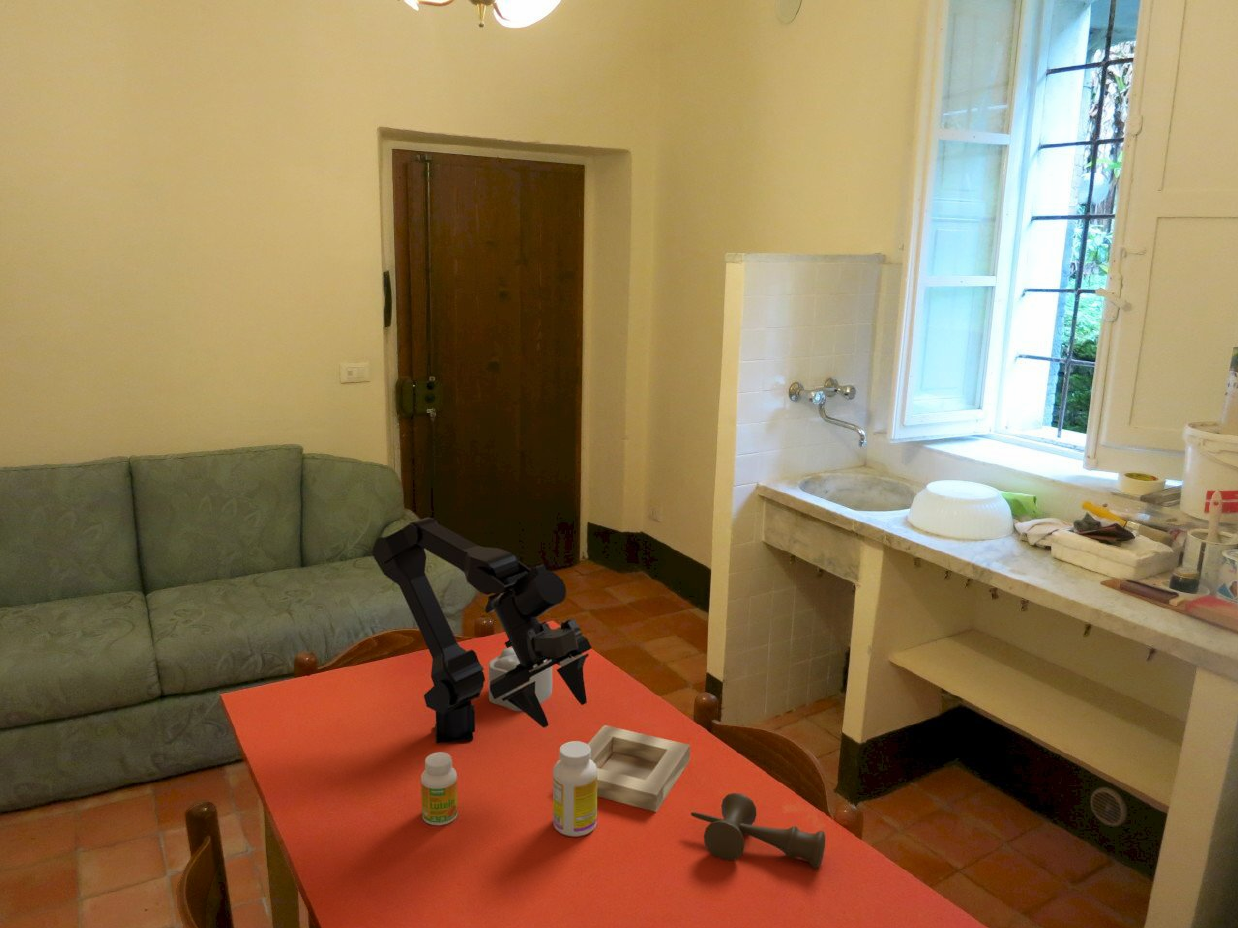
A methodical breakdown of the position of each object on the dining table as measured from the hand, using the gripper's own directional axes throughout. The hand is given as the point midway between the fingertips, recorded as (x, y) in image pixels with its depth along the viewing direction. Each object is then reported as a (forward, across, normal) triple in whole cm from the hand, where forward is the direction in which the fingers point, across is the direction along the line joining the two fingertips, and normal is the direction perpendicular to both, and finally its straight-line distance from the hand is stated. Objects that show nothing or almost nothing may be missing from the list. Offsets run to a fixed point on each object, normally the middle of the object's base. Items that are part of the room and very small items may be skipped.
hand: (565, 714), depth 147 cm
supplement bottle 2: (+15, -6, +2) cm, 16 cm away
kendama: (+30, +7, -17) cm, 35 cm away
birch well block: (+14, +10, +4) cm, 17 cm away
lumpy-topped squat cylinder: (-6, +19, +30) cm, 36 cm away
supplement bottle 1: (+5, -18, +16) cm, 24 cm away
